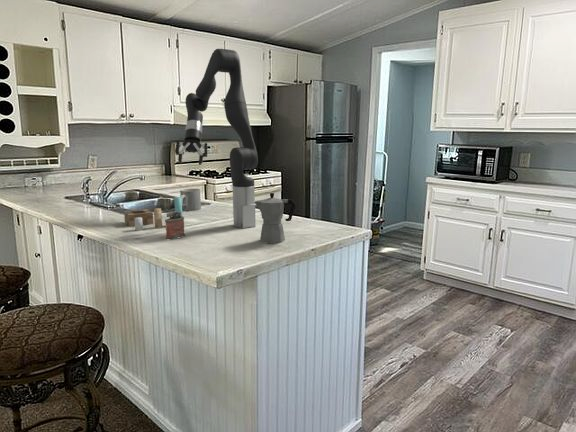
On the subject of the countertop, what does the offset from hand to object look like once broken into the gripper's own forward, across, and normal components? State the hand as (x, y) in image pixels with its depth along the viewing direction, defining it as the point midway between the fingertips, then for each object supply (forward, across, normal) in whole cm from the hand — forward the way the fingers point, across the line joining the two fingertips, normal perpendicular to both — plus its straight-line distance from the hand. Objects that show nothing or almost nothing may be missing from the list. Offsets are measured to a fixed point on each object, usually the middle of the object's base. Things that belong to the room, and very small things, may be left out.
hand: (190, 163), depth 193 cm
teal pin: (+28, -2, +4) cm, 28 cm away
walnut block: (+26, -21, +9) cm, 35 cm away
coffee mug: (+10, -3, +33) cm, 35 cm away
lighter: (+40, 0, -14) cm, 42 cm away
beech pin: (+31, -10, +1) cm, 32 cm away
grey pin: (+33, -17, -2) cm, 37 cm away
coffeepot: (+42, +38, -23) cm, 61 cm away
